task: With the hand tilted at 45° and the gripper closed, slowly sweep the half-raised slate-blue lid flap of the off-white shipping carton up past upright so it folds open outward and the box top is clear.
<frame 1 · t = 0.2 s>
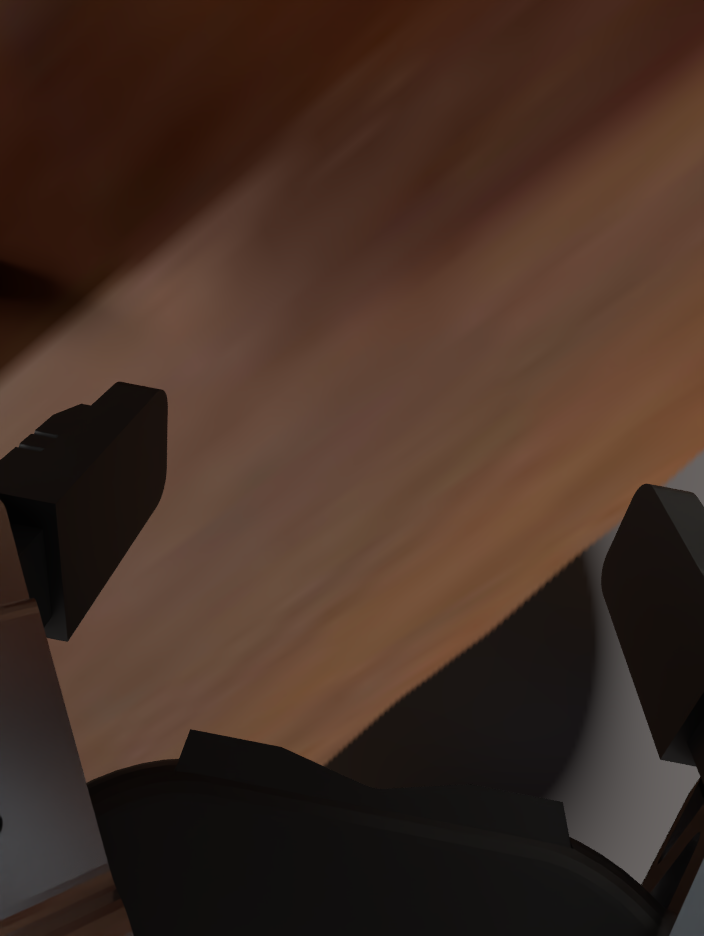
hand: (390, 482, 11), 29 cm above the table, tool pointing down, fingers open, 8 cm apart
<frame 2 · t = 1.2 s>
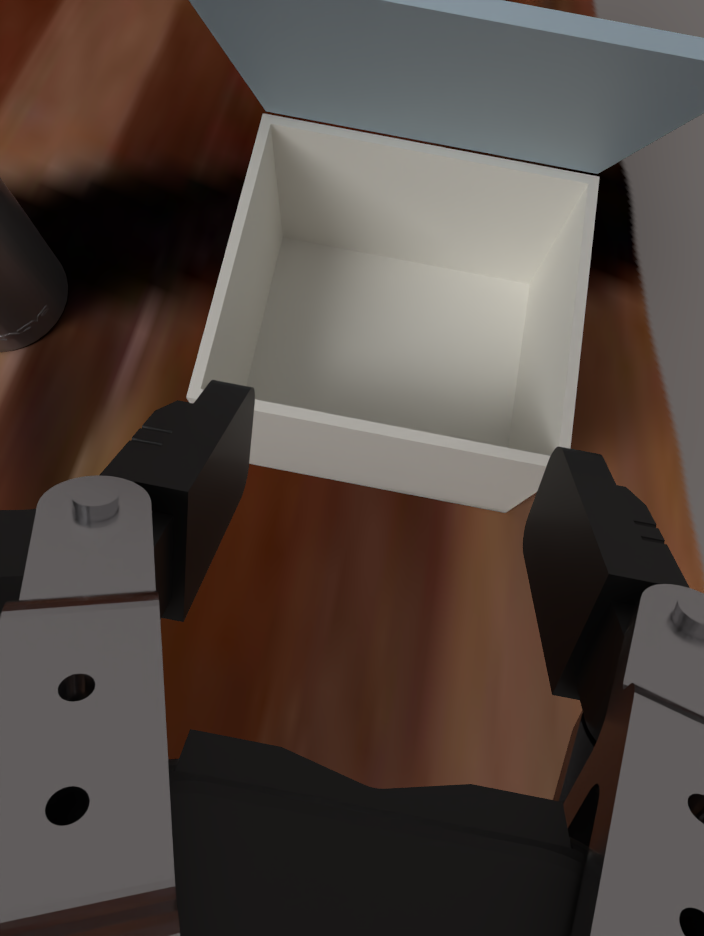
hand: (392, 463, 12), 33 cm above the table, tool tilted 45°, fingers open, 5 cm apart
lid flap: (444, 90, 29), point 20 cm above the table, hinge at 60.0°
carton: (385, 367, 47), on the table
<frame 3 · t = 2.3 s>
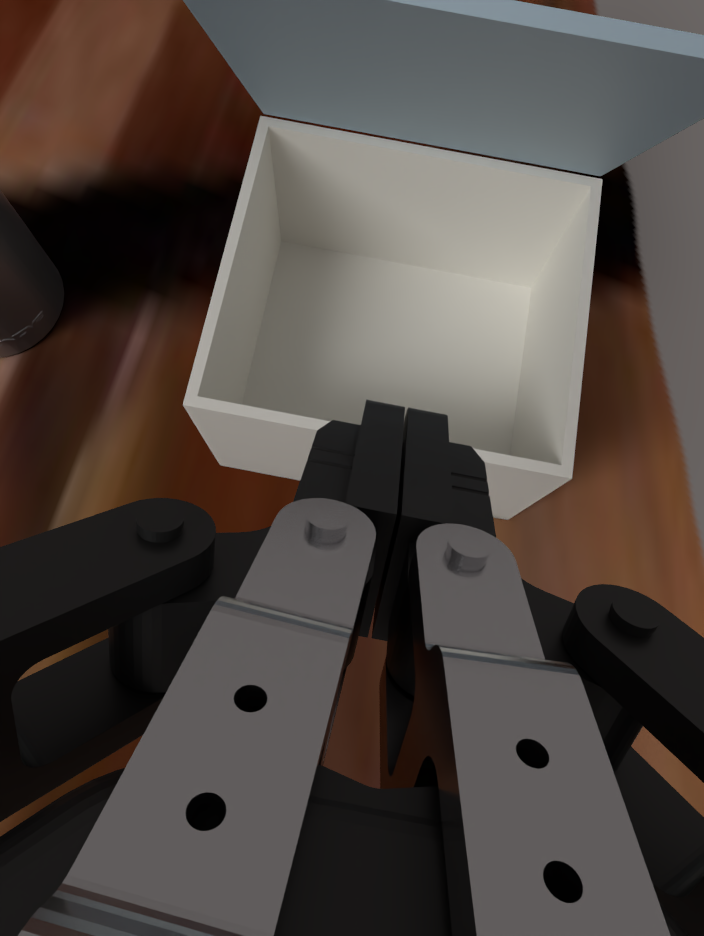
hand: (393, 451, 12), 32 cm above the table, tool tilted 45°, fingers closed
lid flap: (445, 92, 28), point 20 cm above the table, hinge at 60.0°
carton: (385, 372, 47), on the table
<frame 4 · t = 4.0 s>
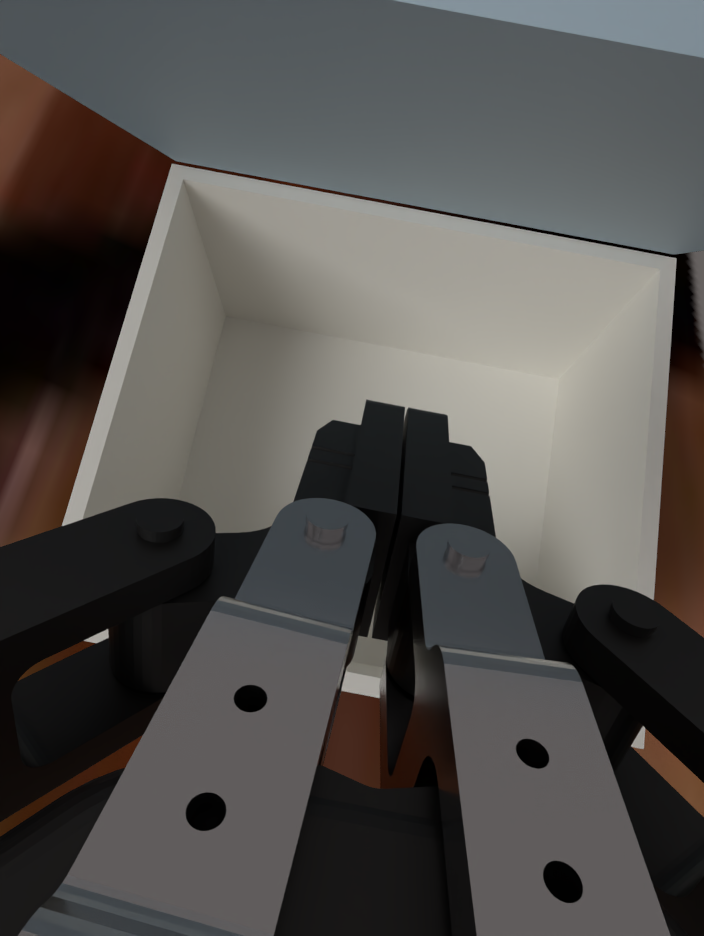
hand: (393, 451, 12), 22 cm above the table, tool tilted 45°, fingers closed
lid flap: (444, 150, 16), point 20 cm above the table, hinge at 60.0°
carton: (364, 496, 35), on the table
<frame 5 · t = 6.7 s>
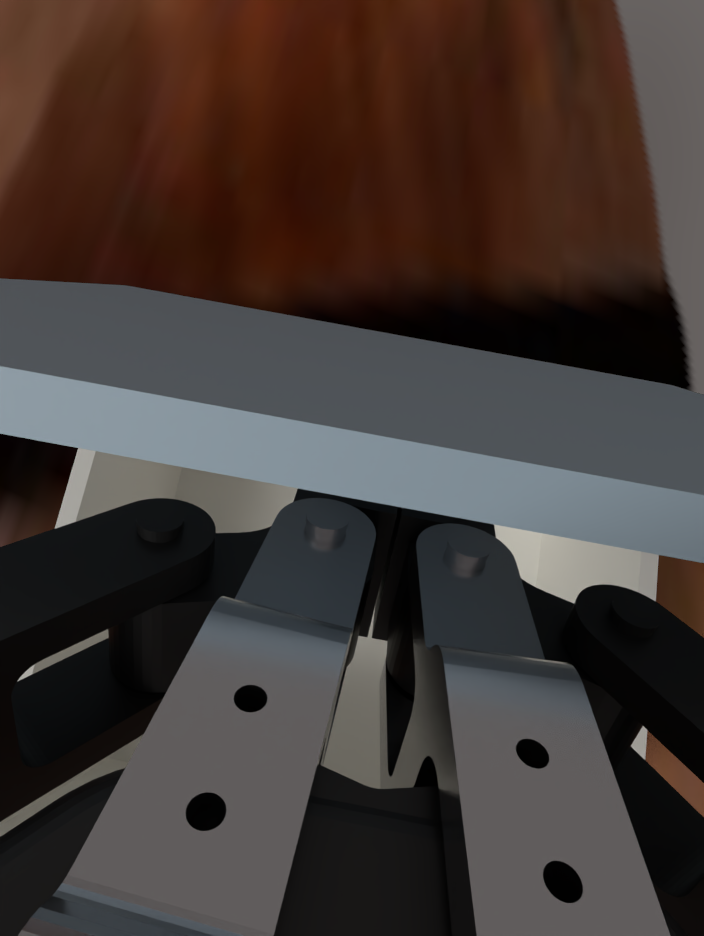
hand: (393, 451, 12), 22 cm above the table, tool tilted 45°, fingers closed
lid flap: (401, 370, 14), point 20 cm above the table, hinge at 61.5°, touching gripper
carton: (341, 613, 33), on the table
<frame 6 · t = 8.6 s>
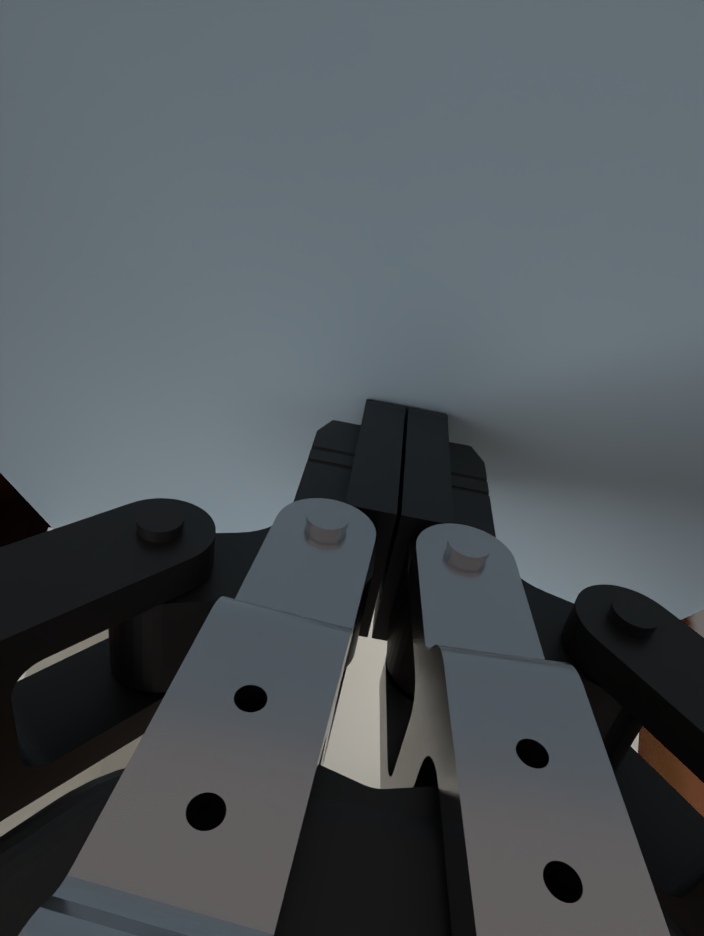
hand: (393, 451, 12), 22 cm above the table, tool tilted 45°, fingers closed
lid flap: (381, 444, 13), point 21 cm above the table, hinge at 102.6°, touching gripper
carton: (304, 786, 31), on the table
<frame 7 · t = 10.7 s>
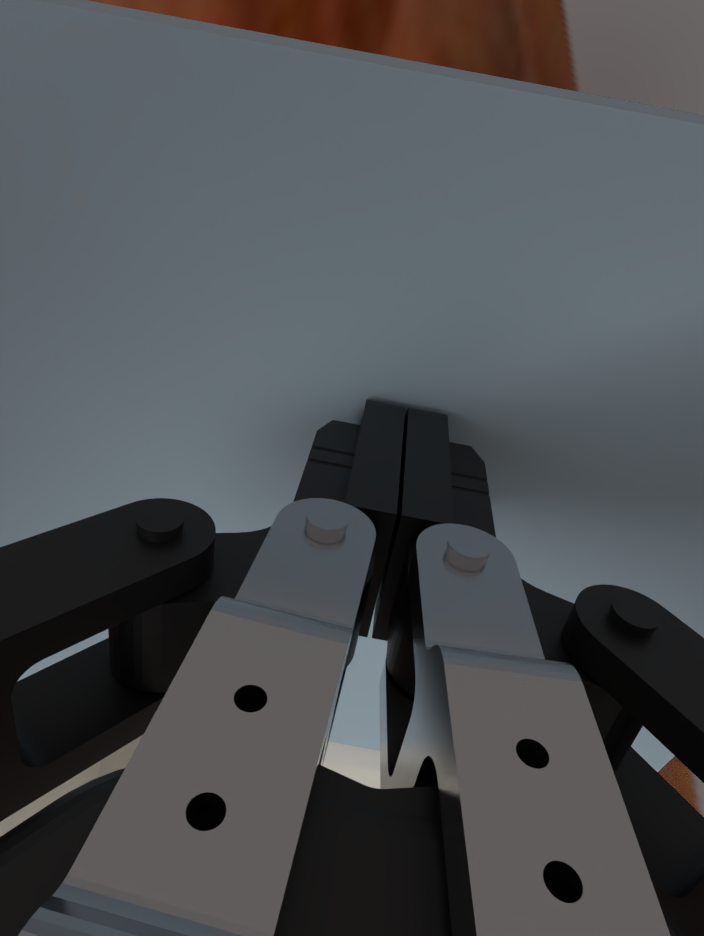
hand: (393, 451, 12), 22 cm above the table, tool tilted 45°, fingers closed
lid flap: (361, 539, 14), point 19 cm above the table, hinge at 124.4°, touching gripper
carton: (282, 901, 30), on the table
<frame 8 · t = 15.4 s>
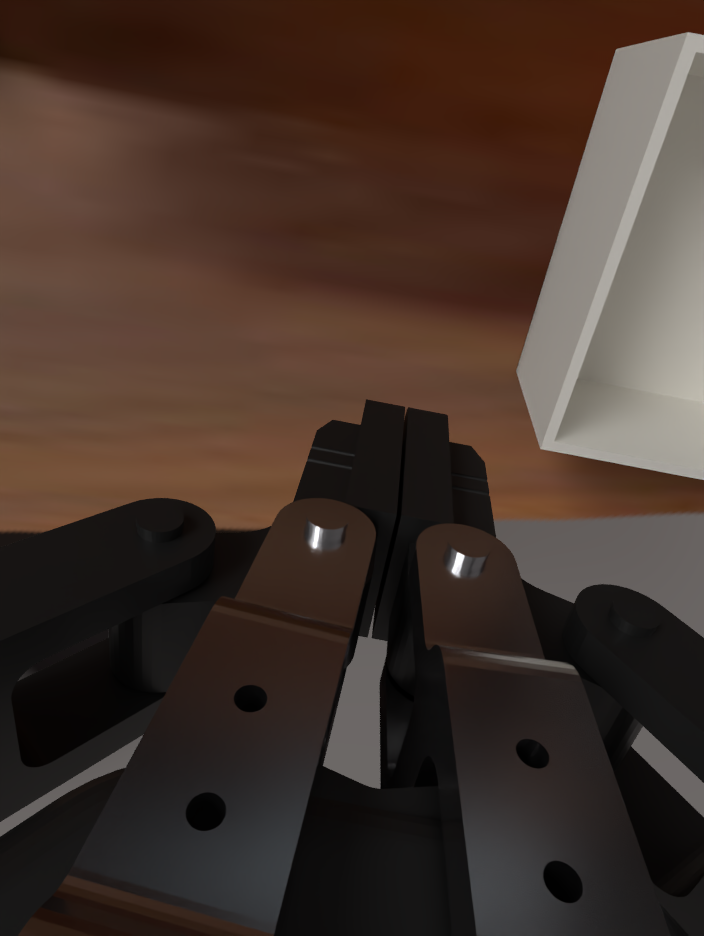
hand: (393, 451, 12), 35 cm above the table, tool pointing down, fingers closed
carton: (696, 255, 42), on the table
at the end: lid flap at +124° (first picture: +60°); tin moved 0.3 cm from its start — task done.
